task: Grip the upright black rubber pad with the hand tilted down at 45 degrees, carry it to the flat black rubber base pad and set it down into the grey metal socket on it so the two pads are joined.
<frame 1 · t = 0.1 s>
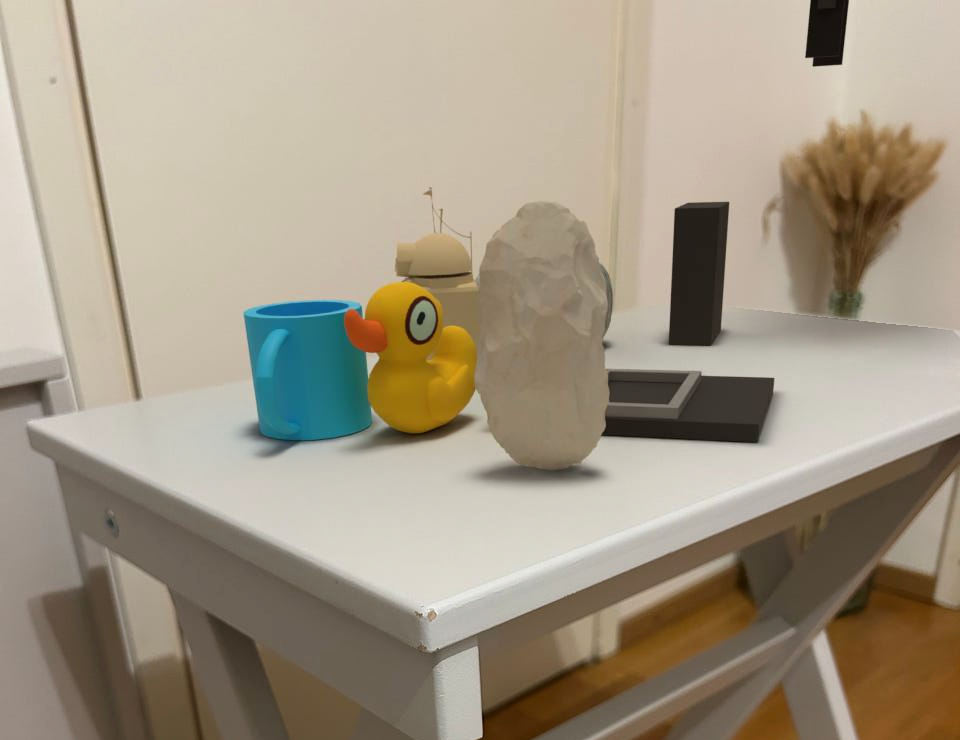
hand: (824, 62, 90), 23 cm above the table, tool pointing down, fingers open, 13 cm apart
mug: (306, 434, 71), on the table
base pad: (638, 410, 73), on the table
robot: (435, 381, 85), on the table
stone: (544, 471, 61), on the table
spool: (542, 348, 97), on the table
pad block: (695, 337, 98), on the table
duckling: (420, 432, 70), on the table
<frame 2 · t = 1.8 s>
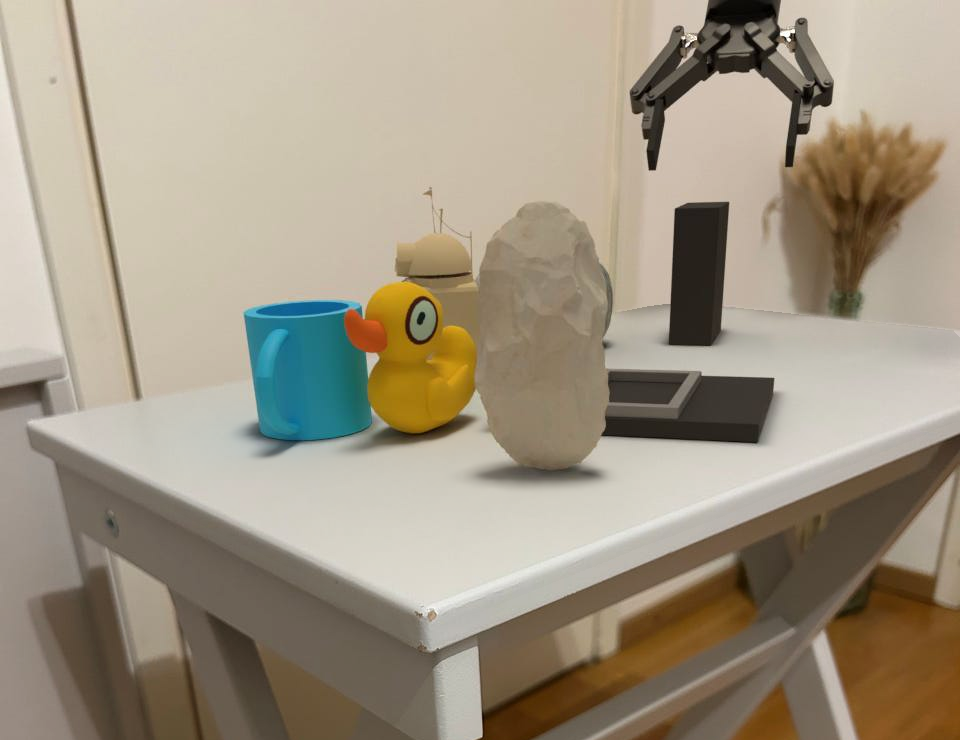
hand: (718, 159, 100), 16 cm above the table, tool tilted 45°, fingers open, 13 cm apart
nothing on the table moved.
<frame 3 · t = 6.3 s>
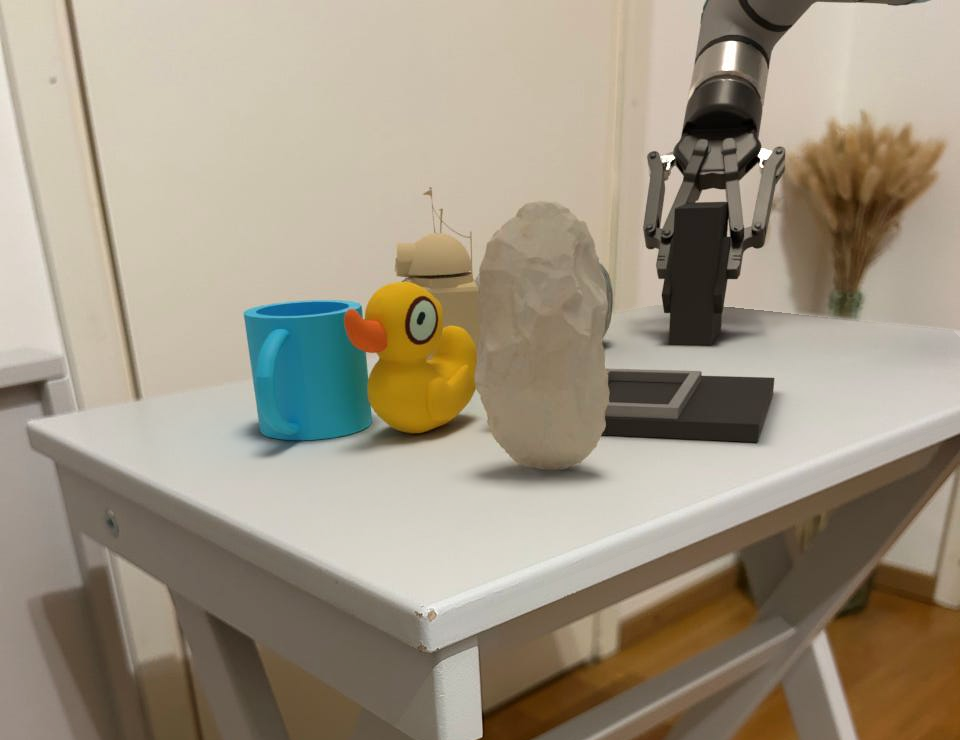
hand: (692, 303, 93), 4 cm above the table, tool tilted 45°, fingers closed on pad block, 4 cm apart
pad block: (695, 337, 98), on the table, touching gripper
everything else where it was.
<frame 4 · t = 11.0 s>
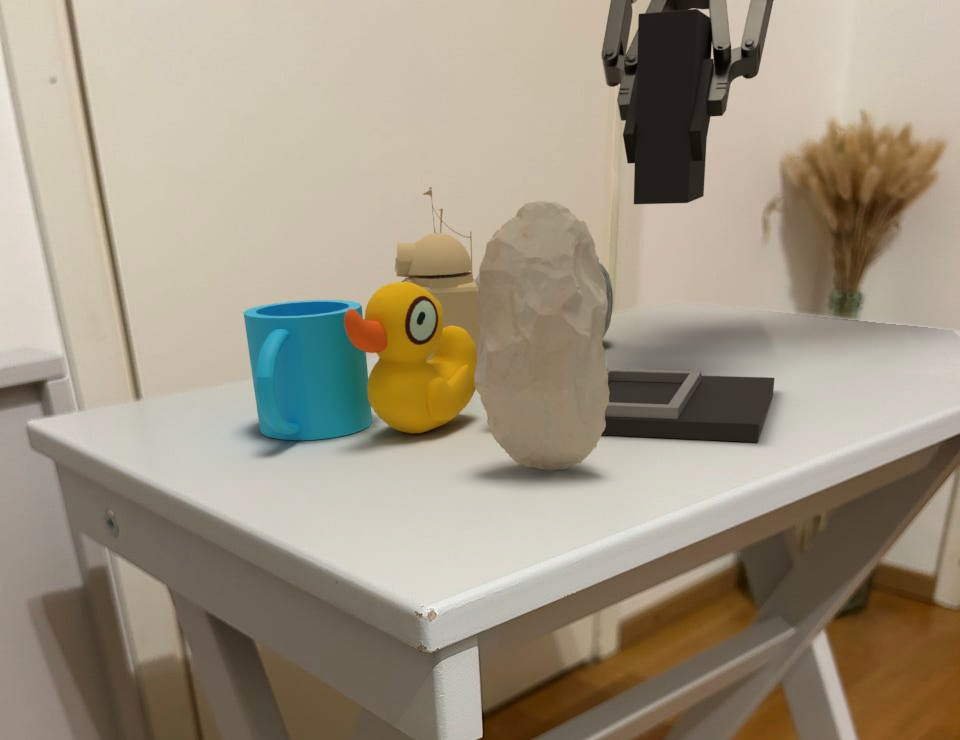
hand: (663, 147, 71), 17 cm above the table, tool tilted 45°, fingers closed on pad block, 4 cm apart
pad block: (669, 200, 76), point 13 cm above the table, touching gripper
everything else where it was.
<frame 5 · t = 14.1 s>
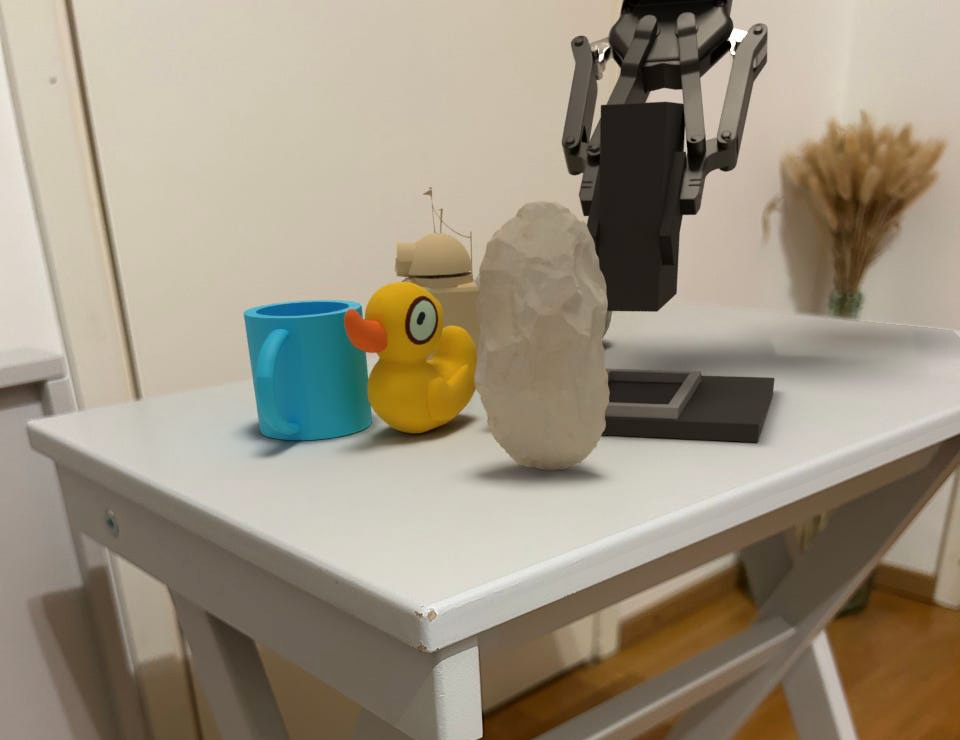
hand: (629, 250, 63), 11 cm above the table, tool tilted 45°, fingers closed on pad block, 4 cm apart
pad block: (638, 302, 68), point 8 cm above the table, touching gripper
everything else where it was.
when the fingers open (5 cm above the table, at t = 16.1 s): pad block stays where it is, resting on base pad.
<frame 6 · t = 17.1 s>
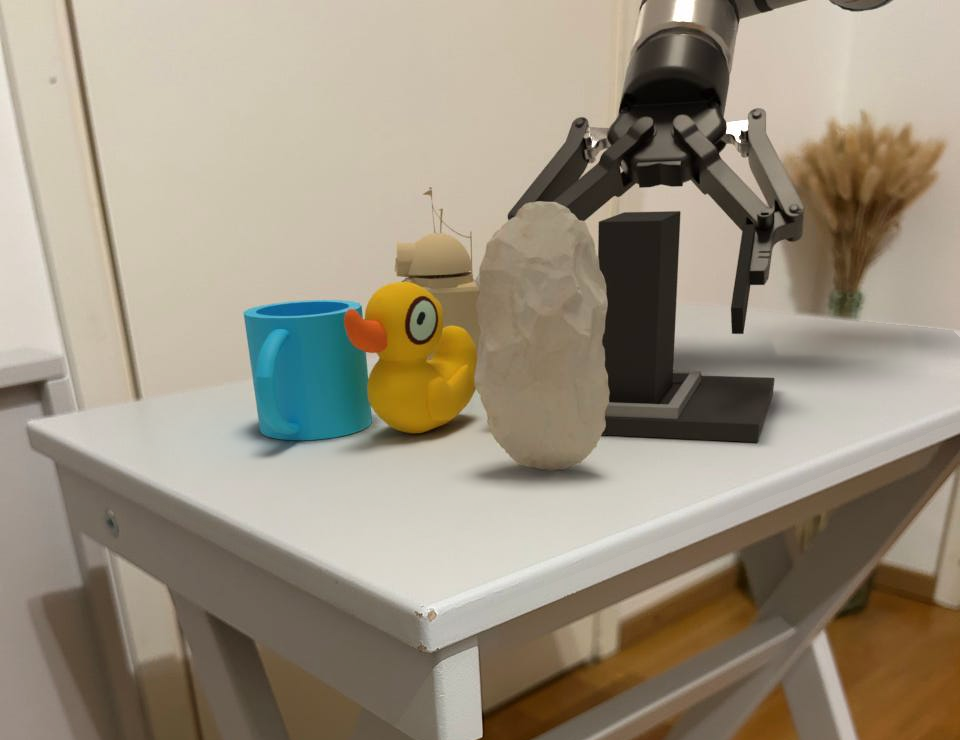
hand: (633, 321, 67), 7 cm above the table, tool tilted 45°, fingers open, 13 cm apart
pad block: (635, 397, 71), point 1 cm above the table, touching base pad
everything else where it was.
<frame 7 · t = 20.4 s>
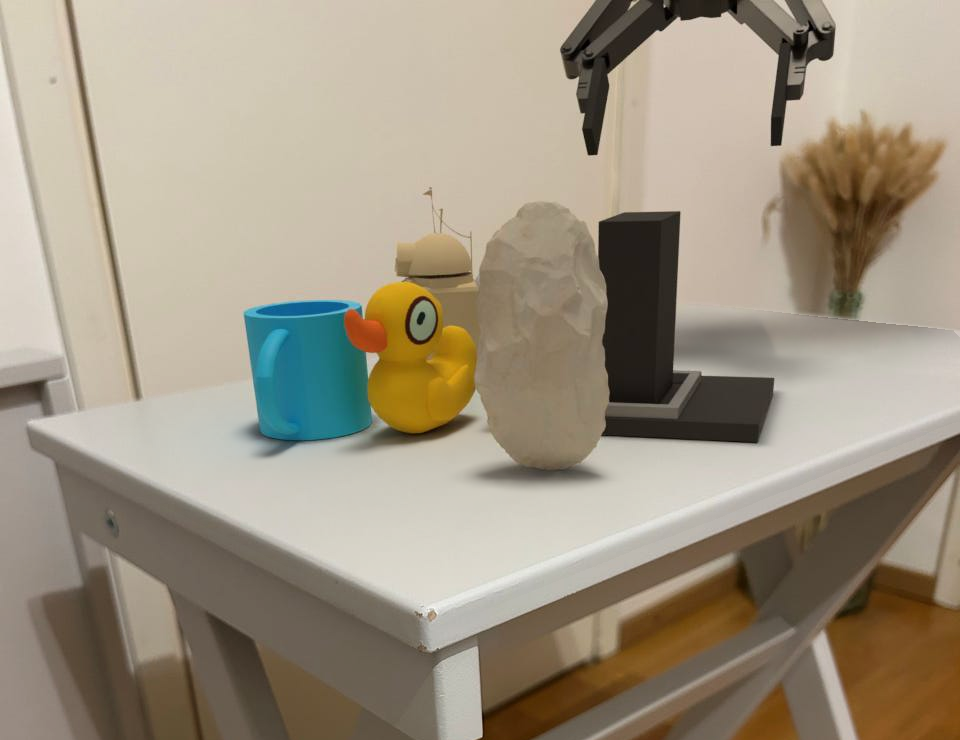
hand: (680, 137, 73), 18 cm above the table, tool tilted 45°, fingers open, 13 cm apart
nothing on the table moved.
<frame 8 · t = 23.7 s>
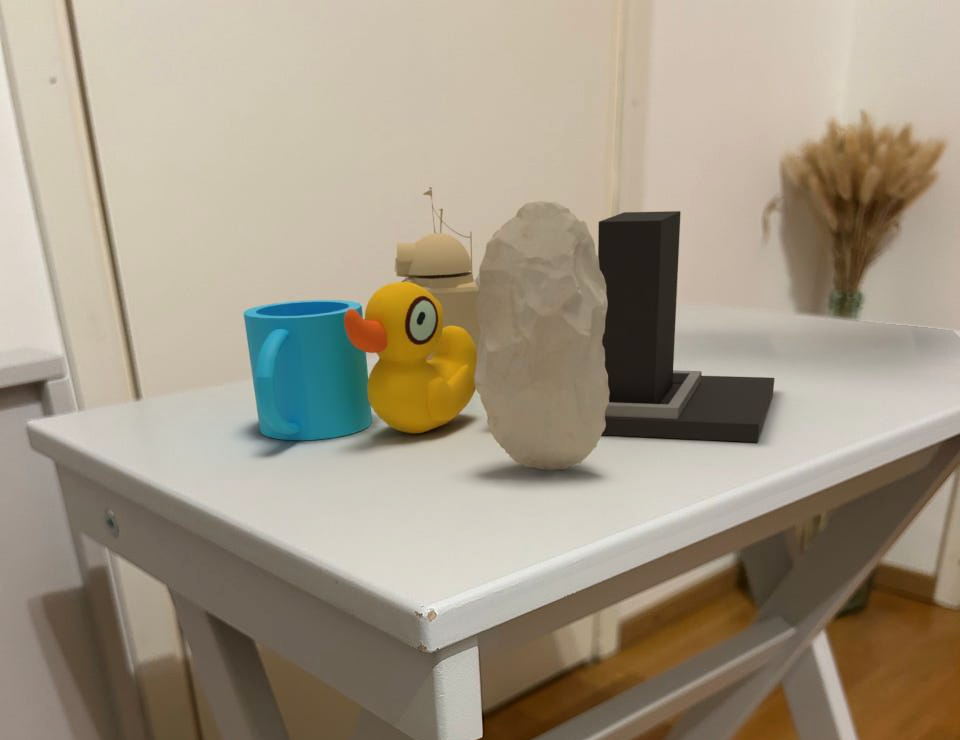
nothing on the table moved.
at the end: pad block 0.1 cm off-centre on the base pad, point 1.2 cm above the base pad's base; pad block tilted 0°; the gripper is holding nothing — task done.
